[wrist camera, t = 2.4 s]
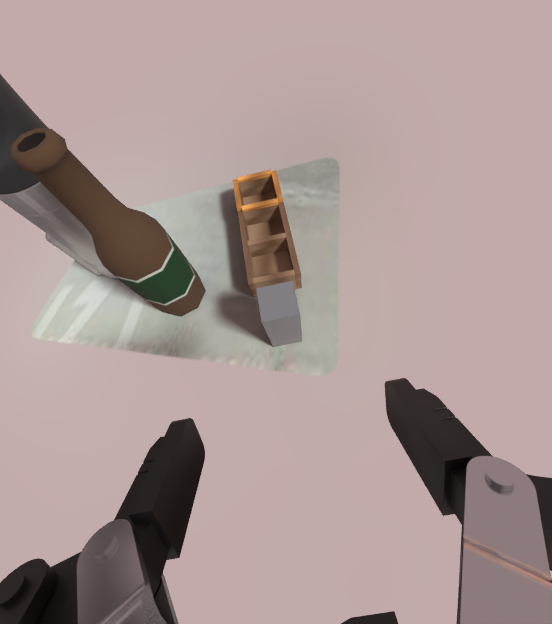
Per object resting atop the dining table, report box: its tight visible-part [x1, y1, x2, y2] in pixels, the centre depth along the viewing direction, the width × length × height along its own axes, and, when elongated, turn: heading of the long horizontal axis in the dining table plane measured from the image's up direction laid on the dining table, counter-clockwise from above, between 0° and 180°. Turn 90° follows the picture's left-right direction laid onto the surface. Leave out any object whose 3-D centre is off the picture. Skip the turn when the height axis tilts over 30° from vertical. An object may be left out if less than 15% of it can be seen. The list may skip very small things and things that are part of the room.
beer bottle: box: [10, 128, 205, 316], centre depth 29 cm, size 8×8×24 cm
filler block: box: [256, 281, 302, 347], centre depth 31 cm, size 4×4×10 cm
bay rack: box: [233, 170, 302, 297], centre depth 40 cm, size 7×21×4 cm, turn 10°
